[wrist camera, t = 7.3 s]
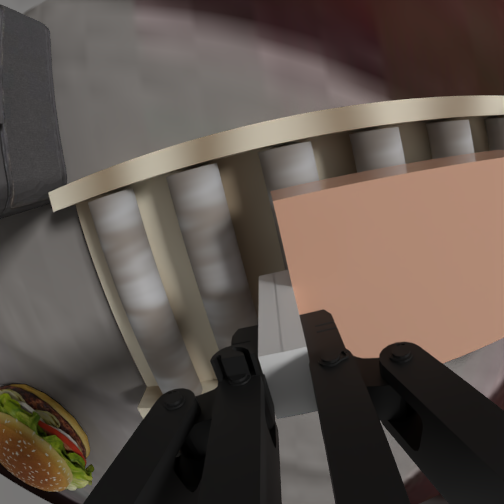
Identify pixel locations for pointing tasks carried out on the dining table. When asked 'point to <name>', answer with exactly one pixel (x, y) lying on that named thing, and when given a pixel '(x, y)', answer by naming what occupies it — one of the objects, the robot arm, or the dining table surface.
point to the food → (41, 441)
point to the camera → (27, 116)
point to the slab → (402, 253)
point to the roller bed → (237, 218)
